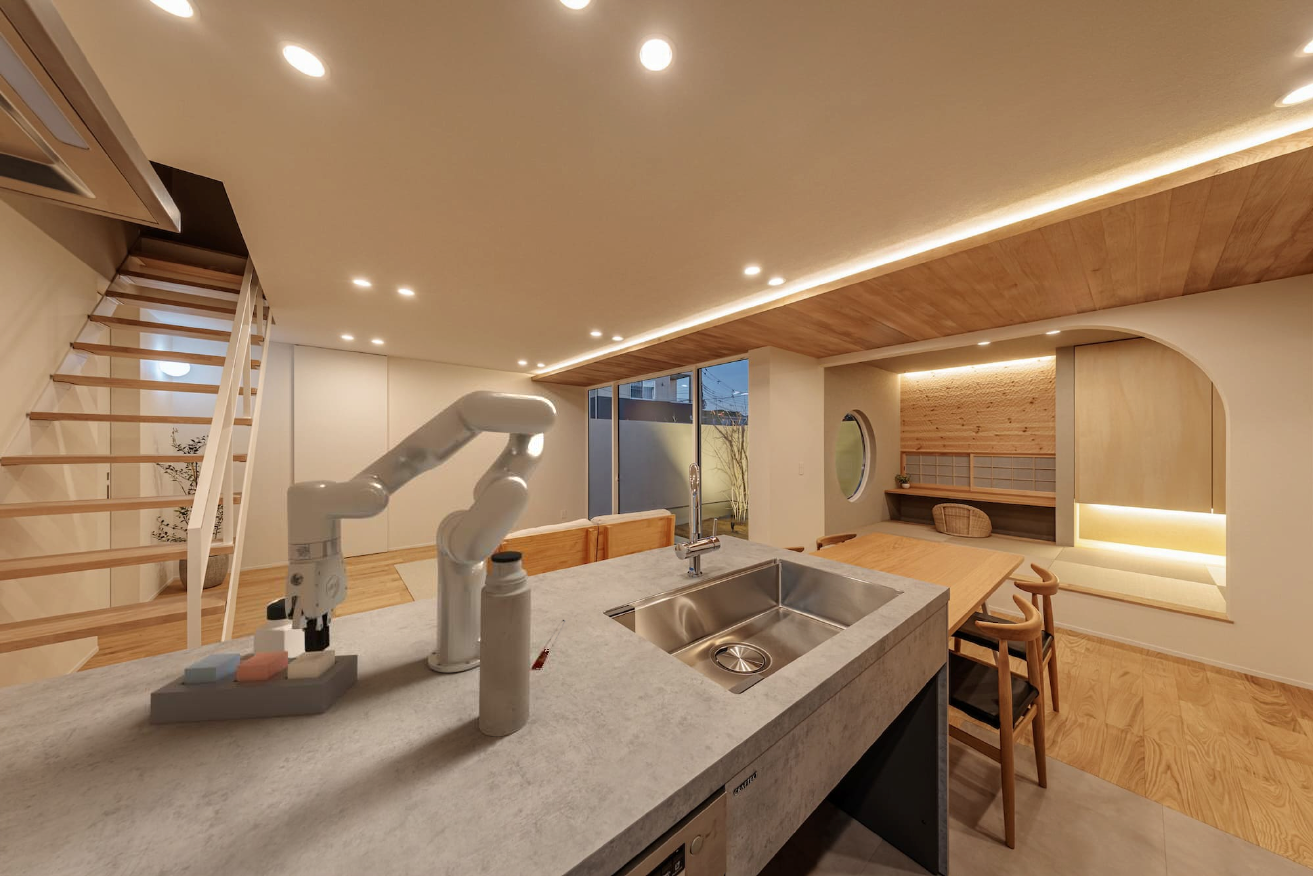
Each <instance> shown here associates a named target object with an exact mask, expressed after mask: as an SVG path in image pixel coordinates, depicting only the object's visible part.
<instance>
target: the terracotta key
mask: <svg viewBox="0 0 1313 876" xmlns="http://www.w3.org/2000/svg"><path fill="white" fill-rule="evenodd" d="M245 660H246V661H245V662H243V663H241V664H240V665H238V666H237V682H245V681H264V680H269V679H271V678H272V677H273V676H275V675H276V674H278V673H279V672H280V671H282V670H283V669H285V668H286V667H287V666H288V651H279V652H259V653H258V654H256V655H254V654H253V656H251V657H249V658H248V659H245Z"/></svg>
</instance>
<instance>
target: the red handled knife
mask: <svg viewBox="0 0 1313 876" xmlns="http://www.w3.org/2000/svg"><path fill="white" fill-rule="evenodd" d="M543 649H544V648H543ZM545 650H546V649H544V651H543V650H542V651H540V654H539V656H537V658H536V660H535V662H534V663H533V665H532V667H531V669H532V668H533V669H532V670H537V669H536V668H542V669H543V667H544V665H545V663H546V661H547V659H546V658H548V657H547V655H548V653H549V651H546V652H545ZM547 650H549V649H547ZM549 654H550V653H549ZM548 656H549V655H548ZM545 660H546V661H545ZM544 662H545V663H544ZM543 664H544V665H543ZM542 666H543V667H542Z"/></svg>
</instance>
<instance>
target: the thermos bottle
mask: <svg viewBox="0 0 1313 876" xmlns="http://www.w3.org/2000/svg"><path fill="white" fill-rule="evenodd" d="M522 557H523V553H522V552H521V551H520V552H519V551H516V550H515V551H514V550H508V551H499V552H495V553H493V554H492V555H491V556H490V560H491V564H490V565H491V566H490V567H491V568H490V569H491V570H490V571H489V572H487V573H486V580H485V586H484V587H483V588H482V589H481V615H480V665H479V685H478V686H479V689H478V690H479V692H478V695H479V696H478V698H479V699H478V727H479V730H480V732H482V733H483V734H485V735H487V736H491V737H503V736H507V735H510V734H512V733H515V732H517V731H519V730H521V729H523V727H525V725H526V724H527V723H528V720H529V719H530V685H531V683H530V679H531V672H530V671H531V619H532V618H531V615H532V614H531V611H532V608H531V607H532V606H531V605H532V585H531V583H530V582H529V581H528V577H529V576H528V573H527V570H526V569H523V568H522V566H523V565H522V564H523V563H522V561H523V560H522Z"/></svg>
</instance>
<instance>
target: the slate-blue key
mask: <svg viewBox="0 0 1313 876" xmlns="http://www.w3.org/2000/svg"><path fill="white" fill-rule="evenodd" d="M240 660H241V653H240V652H238V653H217V654H213V653H212V654H209V655H207V656H205V657H203V658H202V659H200V660H198V661H196V662H194V663H193V664H191V665H188V666H186V667H184V675H185V676H184V685H187V684H207V683H217V682H219V681H220V680H222V679H224V678H225V677H227V676H228V675H230V674H232V673H233V672H235V671H236V670H237V666H238V665H240Z"/></svg>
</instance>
